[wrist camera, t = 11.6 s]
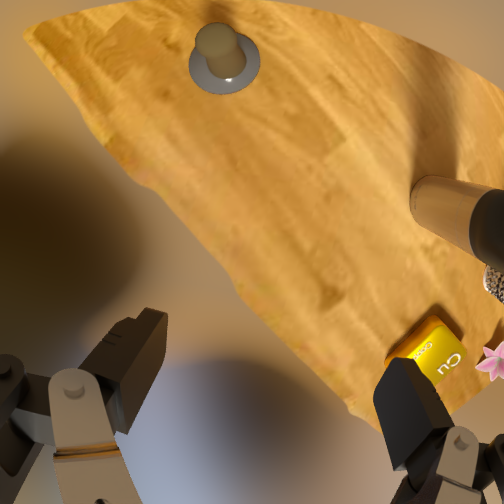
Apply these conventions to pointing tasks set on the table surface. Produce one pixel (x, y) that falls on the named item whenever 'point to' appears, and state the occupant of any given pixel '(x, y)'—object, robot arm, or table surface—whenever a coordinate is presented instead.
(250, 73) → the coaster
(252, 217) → the table surface
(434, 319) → the element tile
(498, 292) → the decorative candle
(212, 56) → the olive game pawn
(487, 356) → the lily
